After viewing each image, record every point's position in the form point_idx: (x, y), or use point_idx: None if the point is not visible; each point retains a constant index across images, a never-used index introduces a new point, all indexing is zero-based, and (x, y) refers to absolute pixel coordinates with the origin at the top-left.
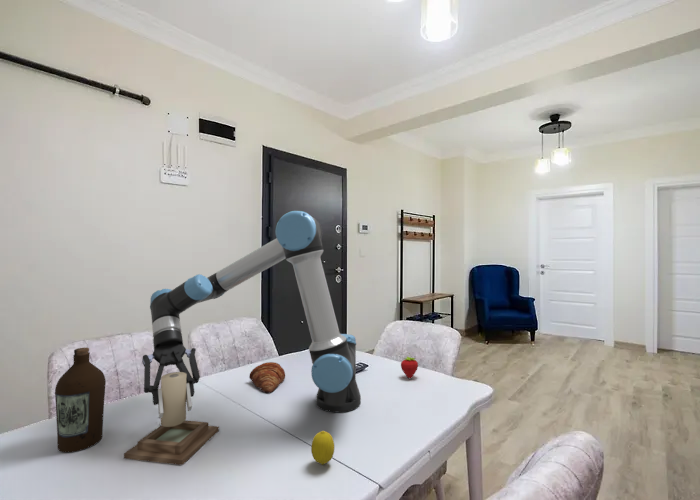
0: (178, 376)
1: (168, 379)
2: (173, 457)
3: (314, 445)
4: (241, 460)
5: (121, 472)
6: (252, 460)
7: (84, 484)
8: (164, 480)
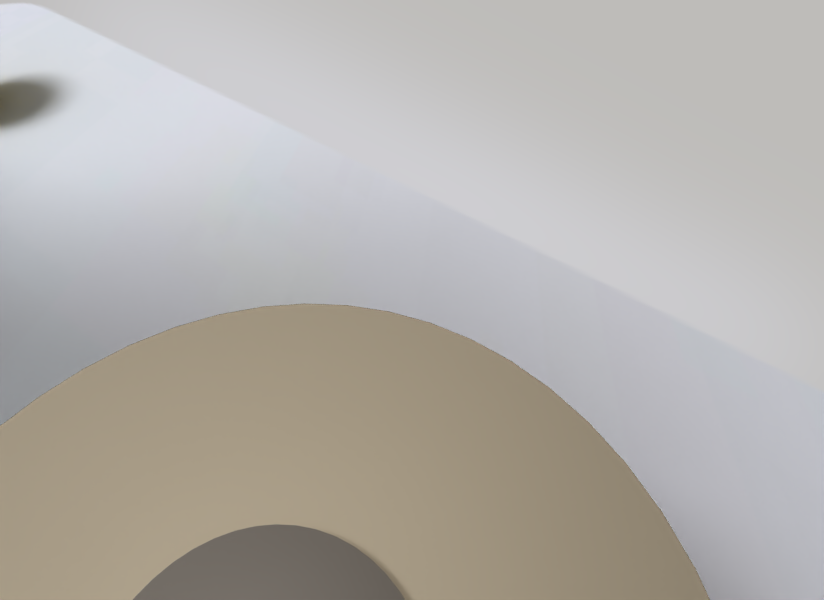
0: (155, 528)
1: (489, 399)
2: None
3: None
4: (162, 253)
5: (659, 456)
6: (130, 232)
7: (811, 448)
8: (465, 288)
